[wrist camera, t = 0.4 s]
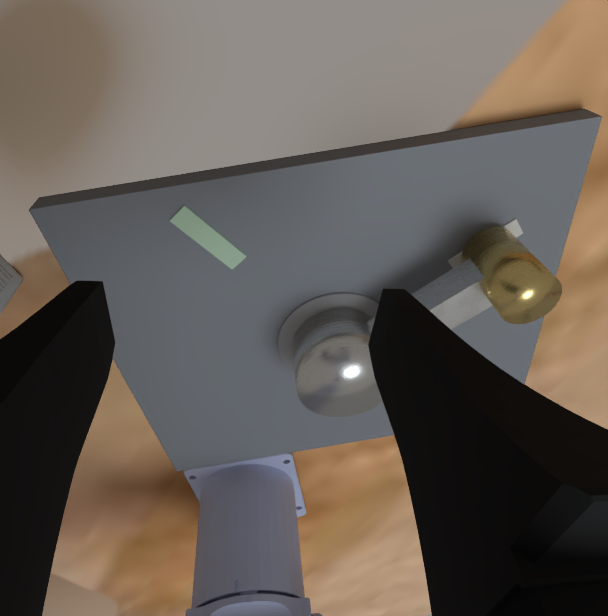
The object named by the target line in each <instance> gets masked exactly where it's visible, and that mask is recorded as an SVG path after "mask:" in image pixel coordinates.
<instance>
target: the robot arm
mask: <svg viewBox="0 0 608 616" xmlns="http://www.w3.org/2000/svg"><path fill="white" fill-rule="evenodd" d="M368 346H369V352H370V357H371V363H372V368H373V372H374V377H375V380H376V383H377V386H378V389H379V392H380V395H381V398H382V401H383V404H384V407H385V409H386V412H387V415H388V418H389V421H390V424H391V427H392V430H393V432H394V435H395V438H396V441H397V444H398V447H399V450H400V454H401V457H402V460H403V464H404V469H405V473H406V477H407V482H408V486H409V490H410V495H411V500H412V504H413V509H414V514H415V519H416V524H417V529H418V534H419V539H420V545H421V550H422V556H423V562H424V567H425V573H426V579H427V586H428V592H429V599H430V605H431V612H432V616H608V430H607V429H605V428H603V427H601V426H599V425H597V424H595V423H593V422H591V421H589V420H587V419H585V418H583V417H581V416H579V415H577V414H575V413H573V412H571V411H569V410H567V409H565V408H564V407H562V406H560V405H558V404H557V403H555V402H553V401H551V400H550V399H548V398H546V397H544V396H543V395H541V394H539V393H537V392H536V391H534V390H533V389H531V388H529V387H528V386H526V385H524V384H523V383H521V382H520V381H518V380H517V379H515V378H514V377H512V376H511V375H509V374H508V373H506V372H505V371H503V370H502V369H500V368H499V367H498V366H496V365H495V364H493V363H492V362H491V361H489V360H488V359H487V358H485V357H484V356H483V355H482V354H480V353H479V352H478V351H476V350H475V349H474V348H472V347H471V346H470V345H469V344H467V343H466V342H465V341H464V340H463V339H461V338H460V337H459V336H458V335H457V334H455V333H454V332H453V331H452V330H451V329H450V328H448V327H447V326H446V325H445V324H444V323H443V322H442V321H440V320H439V319H438V318H437V317H436V316H435V315H434V314H433V313H432V312H430V311H429V310H428V309H427V308H426V307H425V306H424V305H423V304H422V303H420V302H419V301H418V300H417V299H416V298H415V297H414V296H412V295H411V294H410V293H409V292H408V291H406V290H405V289H383V290H382V294H381V298H380V302H379V306H378V309H377V313H376V317H375V321H374V324H373V328H372V332H371V336H370V340H369V343H368ZM114 348H115V338H114V333H113V328H112V324H111V319H110V314H109V309H108V304H107V299H106V294H105V290H104V285H103V281H78V280H77V281H75V282H74V283H72V284H71V285H70V286H68V287H67V288H66V289H65V290H63V291H62V292H61V293H60V294H58V295H57V296H56V297H55V298H54V299H52V300H51V301H50V302H49V303H47V304H46V305H45V306H44V307H42V308H41V309H40V310H39V311H37V312H36V313H35V314H33V315H32V316H31V317H30V318H28V319H27V320H26V321H25V322H23V323H22V324H21V325H19V326H18V327H17V328H16V329H14V330H13V331H11V332H10V333H9V334H7V335H6V336H4V337H3V338H2V339H0V616H42V612H43V606H44V602H45V597H46V592H47V587H48V582H49V577H50V572H51V568H52V563H53V558H54V553H55V549H56V544H57V540H58V536H59V531H60V527H61V523H62V518H63V514H64V510H65V506H66V502H67V498H68V494H69V490H70V486H71V482H72V478H73V474H74V471H75V468H76V465H77V461H78V458H79V455H80V453H81V450H82V447H83V444H84V442H85V439H86V436H87V434H88V431H89V428H90V426H91V423H92V420H93V418H94V415H95V412H96V410H97V407H98V404H99V401H100V399H101V396H102V393H103V390H104V388H105V385H106V382H107V379H108V376H109V371H110V367H111V363H112V358H113V353H114ZM184 475H185V477H186V479H187V481H188V483H189V484H190V486H191V488H192V490H193V492H194V493H195V495H196V497H197V499H198V501H199V503H200V508H199V520H198V533H197V545H196V557H195V570H194V582H193V595H192V607H191V609H187V610H186V616H322V615H321V614H320V613H315V614H312V615H311V606H310V599H309V598H305V596H304V585H303V575H302V565H301V554H300V544H299V533H298V523H297V517H300V516H304V515H305V514H306V507H305V503H304V499H303V495H302V491H301V487H300V483H299V479H298V475H297V471H296V467H295V463H294V459H293V455H292V452H290V453H284V454H278V455H272V456H266V457H260V458H254V459H248V460H243V461H237V462H231V463H225V464H219V465H213V466H207V467H201V468H195V469H189V470H184Z"/></svg>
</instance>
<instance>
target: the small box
mask: <svg viewBox="0 0 608 616" xmlns="http://www.w3.org/2000/svg"><path fill="white" fill-rule="evenodd" d="M22 280H23V278H22V276H21V275H20V274H19V273H18V272H17V271H16V270H15V269H14V268H13V267H12V266H11V265H10V264H9V263H8V262H7V261H6V260H5V259H4V258H3V257H2V256H1V255H0V313H1V312H2V311H3V309H4V308H5V306H6V305H7V303H8V301H9V300H10V298H11V297H12V296H13V294H14V293H15V291H16V290H17V288H18V287H19V285H20V284H21V282H22Z"/></svg>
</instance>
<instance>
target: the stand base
mask: <svg viewBox="0 0 608 616" xmlns="http://www.w3.org/2000/svg"><path fill="white" fill-rule="evenodd" d="M601 118H602V116H600V115H598V114H595V113H593V112H591V111H588V110H586V109H580V110H574V111H568V112H562V113H556V114H550V115H543V116H537V117H531V118H525V119H519V120H513V121H507V122H500V123H494V124H488V125H482V126H476V127H470V128H464V129H457V130H451V131H445V132H439V133H433V134H427V135H421V136H414V137H408V138H402V139H397V140H390V141H384V142H378V143H371V144H365V145H359V146H353V147H347V148H341V149H334V150H329V151H322V152H317V153H310V154H304V155H298V156H292V157H285V158H279V159H273V160H267V161H261V162H255V163H248V164H243V165H237V166H230V167H224V168H218V169H212V170H205V171H199V172H193V173H187V174H181V175H175V176H169V177H162V178H156V179H150V180H144V181H138V182H132V183H126V184H119V185H113V186H107V187H101V188H95V189H89V190H82V191H76V192H70V193H64V194H58V195H52V196H46V197H40V198H38V200H37V201H36V202H35V203H34V204H33V206H32V207H31V208H30V209H29V211H30V213H31V215H32V216H33V218H34V220H35V222H36V224H37V225H38V227H39V229H40V231H41V232H42V234H43V236H44V238H45V239H46V241H47V243H48V245H49V247H50V248H51V250H52V252H53V254H54V255H55V257H56V259H57V261H58V262H59V264H60V266H61V268H62V270H63V271H64V273H65V275H66V277H67V278H68V280H69V282H70V284H72V283H74V282H75V281H77V280H78V281H103V285H104V290H105V294H106V299H107V304H108V309H109V314H110V319H111V324H112V328H113V333H114V338H115V348H114V353H113V360H114V361H115V363H116V365H117V367H118V369H119V370H120V372H121V374H122V376H123V377H124V379H125V381H126V383H127V384H128V386H129V388H130V390H131V392H132V393H133V395H134V397H135V399H136V400H137V402H138V404H139V406H140V407H141V409H142V411H143V413H144V415H145V416H146V418H147V420H148V422H149V423H150V425H151V427H152V429H153V430H154V432H155V434H156V436H157V437H158V439H159V441H160V443H161V445H162V446H163V448H164V450H165V452H166V453H167V455H168V457H169V459H170V460H171V462H172V464H173V466H174V468H175V469H176V471H183V470H189V469H195V468H201V467H207V466H213V465H219V464H225V463H231V462H237V461H243V460H248V459H254V458H260V457H266V456H272V455H278V454H284V453H290V452H296V451H302V450H308V449H314V448H320V447H326V446H332V445H338V444H344V443H350V442H356V441H362V440H368V439H374V438H380V437H386V436H391V435H394V432H393V430H392V427H391V424H390V421H389V418H388V415H387V412H386V409H385V407H384V404H383V402H382V403H380V404H379V405H377V406H376V407H374V408H372V409H370V410H368V411H366V412H363V413H360V414H357V415H353V416H347V417H329V416H323V415H320V414H317V413H314V412H312V411H310V410H309V409H307V408H306V407H305V406H304V405H303V404H302V403H301V401H300V400H299V398H298V395H297V389H296V381H295V373H294V365H293V357H292V348H291V345H292V339H293V336H294V334H295V332H296V331H297V329H298V328H299V327H300V325H301V324H302V323H304V322H305V321H306V320H307V319H309V318H310V317H312V316H313V315H315V314H317V313H320V312H322V311H325V310H329V309H335V308H352V309H356V310H360V311H363V312H365V313H367V314H368V315H370V316H371V317H372V318H374V317H376V313H377V309H378V306H379V302H380V298H381V294H382V290H383V289H405V290H406V291H408V292H409V293H410V294H413V293H414V292H416V291H418V290H419V289H421V288H423V287H424V286H426V285H427V284H429V283H431V282H432V281H434V280H436V279H437V278H439V277H440V276H442V275H444V274H445V273H447V272H448V271H450V270H452V269H453V268H455V267H457V266H458V265H460V264H461V263H462V251H463V249H464V247H465V245H466V243H467V242H468V241H469V240H470V238H471V237H473V236H474V235H475V234H476V233H478V232H480V231H481V230H484V229H486V228H490V227H503V228H506V229H508V230H509V231H510V232H511V233H512V234H513V235H514V236H515V237H516V238H517V239H518V240H519V241H520V242H521V243H522V244H523V245H524V246H525V247H526V248H527V249H528V250H529V251H530V252H531V253H532V254H533V255H534V256H535V257H536V258H537V259H538V260H539V261H540V262H541V263H542V264H543V265H544V266H545V267H546V268H547V269H548V270H549V271H550V272H551V273H552V274H553V275H554V276H555V277H556V274H557V270H558V267H559V263H560V260H561V256H562V253H563V249H564V246H565V243H566V239H567V236H568V232H569V229H570V225H571V222H572V218H573V215H574V212H575V208H576V205H577V201H578V198H579V194H580V191H581V187H582V184H583V180H584V177H585V174H586V170H587V167H588V163H589V160H590V156H591V153H592V149H593V146H594V142H595V139H596V136H597V132H598V129H599V125H600V122H601ZM543 319H544V316H543V317H541V318H539V319H537V320H535V321H533V322H530V323H526V324H511V323H508V322H506V321H504V320H503V319H502V317H501V316H500V315H499V313H498V312H497V311H496V309H495V308H494V306H491V307H489V308H488V309H486V310H484V311H482V312H481V313H479V314H477V315H475V316H474V317H472V318H470V319H468V320H467V321H465V322H463V323H461V324H460V325H458V326H456V327H454V328H453V329H451V330H452V331H453V332H454V333H455V334H457V335H458V336H459V337H460V338H461V339H463V340H464V341H465V342H466V343H467V344H469V345H470V346H471V347H472V348H474V349H475V350H476V351H478V352H479V353H480V354H482V355H483V356H484V357H485V358H487V359H488V360H489V361H491V362H492V363H493V364H495V365H496V366H498V367H499V368H500V369H502V370H503V371H505V372H506V373H508V374H509V375H511V376H512V377H514V378H515V379H517V380H518V381H520V382H521V383H523V384H525V381H526V377H527V374H528V370H529V367H530V363H531V360H532V357H533V353H534V350H535V346H536V343H537V339H538V336H539V332H540V329H541V325H542V322H543Z"/></svg>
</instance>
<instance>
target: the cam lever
mask: <svg viewBox="0 0 608 616" xmlns="http://www.w3.org/2000/svg"><path fill="white" fill-rule="evenodd" d="M561 293H562V286H561V283H560V281H559V280H558V279H557V278H556V277H555V276H554V275H553V274H552V273H551V272H550V271H549V270H548V269H547V268H546V267H545V266H544V265H543V264H542V263H541V262H540V261H539V260H538V259H537V258H536V257H535V256H534V255H533V254H532V253H531V252H530V251H529V250H528V249H527V248H526V247H525V246H524V245H523V244H522V243H521V242H520V241H519V240H518V239H517V238H516V237H515V236H514V235H513V234H512V233H511V232H510V231H509V230H508V229H506V228H503V227H490V228H486V229H484V230H481V231H480V232H478V233H476V234H475V235H474V236H473V237H471V238H470V240H469V241H468V242H467V243H466V245H465V247H464V249H463V251H462V263H461V264H460V265H458V266H457V267H455V268H453V269H452V270H450V271H448V272H447V273H445V274H444V275H442V276H440V277H439V278H437V279H436V280H434V281H432V282H431V283H429V284H427V285H426V286H424V287H423V288H421V289H419V290H418V291H416V292H414V293H413V294H411V295H412V296H414V297H415V298H416V299H417V300H418V301H419V302H420V303H422V304H423V305H424V306H425V307H426V308H427V309H428V310H429V311H430V312H432V313H433V314H434V315H435V316H436V317H437V318H438V319H439V320H440V321H442V322H443V323H444V324H445V325H446V326H447V327H448V328H450V329H453V328H454V327H456V326H458V325H460V324H461V323H463V322H465V321H467V320H468V319H470V318H472V317H474V316H475V315H477V314H479V313H481V312H482V311H484V310H486V309H488V308H489V307H491V306H494V308H495V309H496V311H497V312H498V313H499V315H500V316H501V317H502V319H503V320H504V321H506V322H508V323H511V324H526V323H530V322H533V321H535V320H537V319H539V318H541V317H543V316H544V315H546V314H547V313H548V312H550V311H551V310H552V309H553V308H554V306H555V305H556V304H557V302H558V301H559V299H560V296H561ZM374 321H375V317H374V318H372V317H371V316H370V315H368V314H367V313H365V312H363V311H360V310H356V309H352V308H335V309H329V310H325V311H322V312H320V313H317V314H315V315H313V316H312V317H310V318H309V319H307V320H306V321H305V322H304V323H302V324H301V325H300V327H299V328H298V329H297V331H296V332H295V334H294V336H293V339H292V345H291V348H292V357H293V365H294V373H295V381H296V389H297V395H298V398H299V400H300V401H301V403H302V404H303V405H304V406H305V407H306V408H307V409H309V410H310V411H312V412H314V413H317V414H320V415H323V416H329V417H347V416H353V415H357V414H360V413H363V412H366V411H368V410H370V409H372V408H374V407H376V406H377V405H379V404H380V403H382V402H383V401H382V398H381V395H380V392H379V389H378V386H377V383H376V380H375V377H374V372H373V368H372V363H371V357H370V352H369V346H368V343H369V340H370V336H371V332H372V328H373V324H374Z"/></svg>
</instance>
